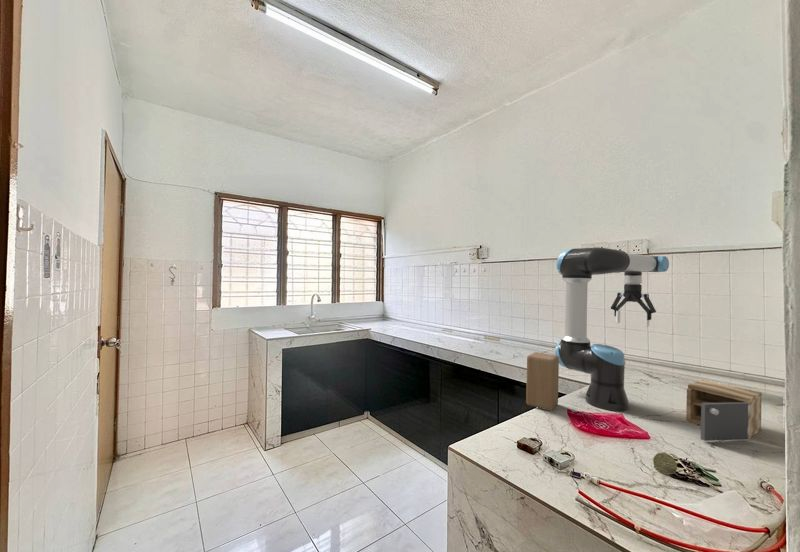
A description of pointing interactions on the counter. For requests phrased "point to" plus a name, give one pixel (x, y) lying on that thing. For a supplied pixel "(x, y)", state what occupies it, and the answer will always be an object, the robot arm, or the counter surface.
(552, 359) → the wooden block
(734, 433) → the door
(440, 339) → the counter surface
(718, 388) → the box
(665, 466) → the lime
